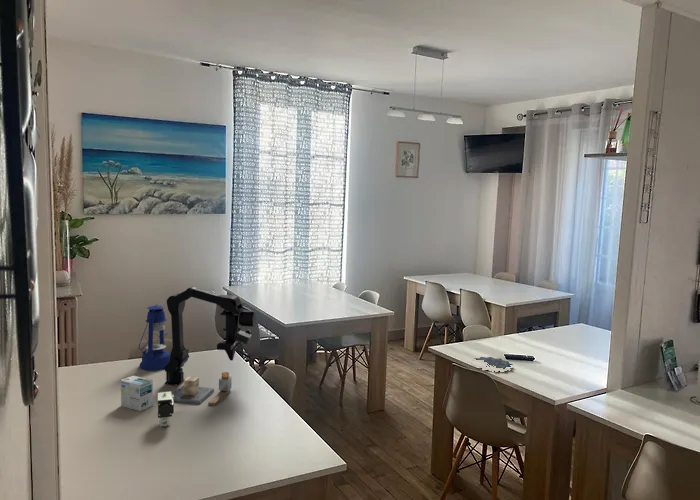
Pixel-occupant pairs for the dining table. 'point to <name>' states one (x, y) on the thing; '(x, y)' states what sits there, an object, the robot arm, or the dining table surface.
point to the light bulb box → (136, 393)
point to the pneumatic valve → (165, 407)
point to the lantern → (156, 354)
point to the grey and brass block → (225, 382)
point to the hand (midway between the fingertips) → (231, 360)
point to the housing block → (191, 385)
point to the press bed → (198, 396)
